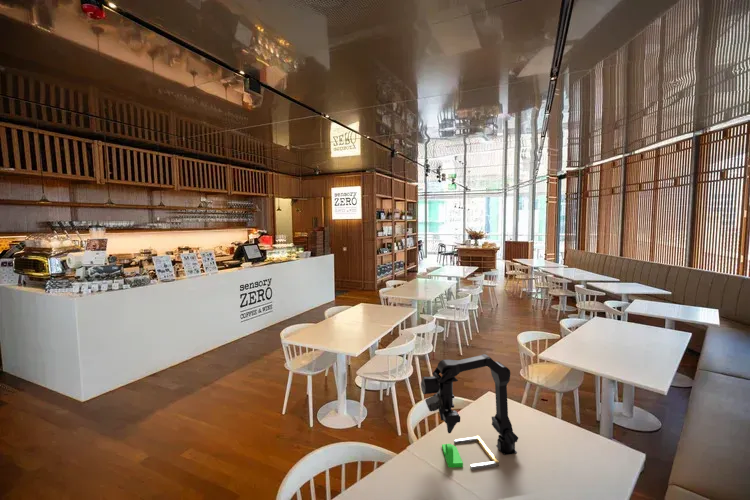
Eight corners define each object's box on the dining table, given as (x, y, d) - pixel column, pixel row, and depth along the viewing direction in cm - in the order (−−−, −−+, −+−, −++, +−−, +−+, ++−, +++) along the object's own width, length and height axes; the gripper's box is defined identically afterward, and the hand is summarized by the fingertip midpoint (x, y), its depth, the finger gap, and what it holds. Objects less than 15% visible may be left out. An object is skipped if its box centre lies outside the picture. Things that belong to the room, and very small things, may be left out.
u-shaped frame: (478, 439, 154) (478, 435, 154) (498, 465, 137) (498, 461, 137) (454, 442, 152) (454, 439, 152) (471, 470, 135) (471, 465, 135)
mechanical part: (462, 467, 137) (463, 449, 136) (448, 468, 136) (448, 449, 136) (455, 448, 149) (455, 431, 148) (441, 448, 148) (441, 431, 148)
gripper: (421, 382, 148) (421, 415, 149) (433, 404, 130) (433, 442, 131) (445, 380, 149) (445, 413, 150) (461, 402, 131) (460, 439, 132)
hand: (445, 426), depth 141 cm, fingers open, 9 cm apart
